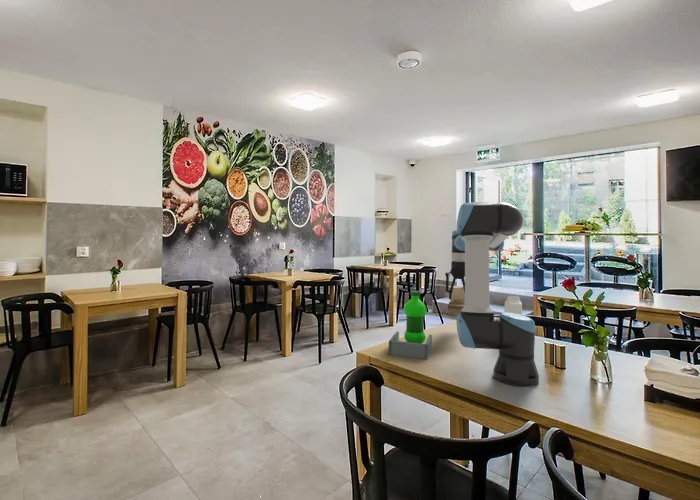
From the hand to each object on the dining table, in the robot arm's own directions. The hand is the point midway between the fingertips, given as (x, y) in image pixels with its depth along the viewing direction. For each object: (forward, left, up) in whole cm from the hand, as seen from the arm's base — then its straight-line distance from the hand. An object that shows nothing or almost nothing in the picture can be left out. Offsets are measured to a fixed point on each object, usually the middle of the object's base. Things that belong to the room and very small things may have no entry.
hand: (458, 306), depth 191 cm
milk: (-3, -26, -15) cm, 30 cm away
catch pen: (-34, +18, -15) cm, 41 cm away
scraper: (0, 0, 0) cm, 0 cm away
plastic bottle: (-24, +18, -15) cm, 33 cm away
